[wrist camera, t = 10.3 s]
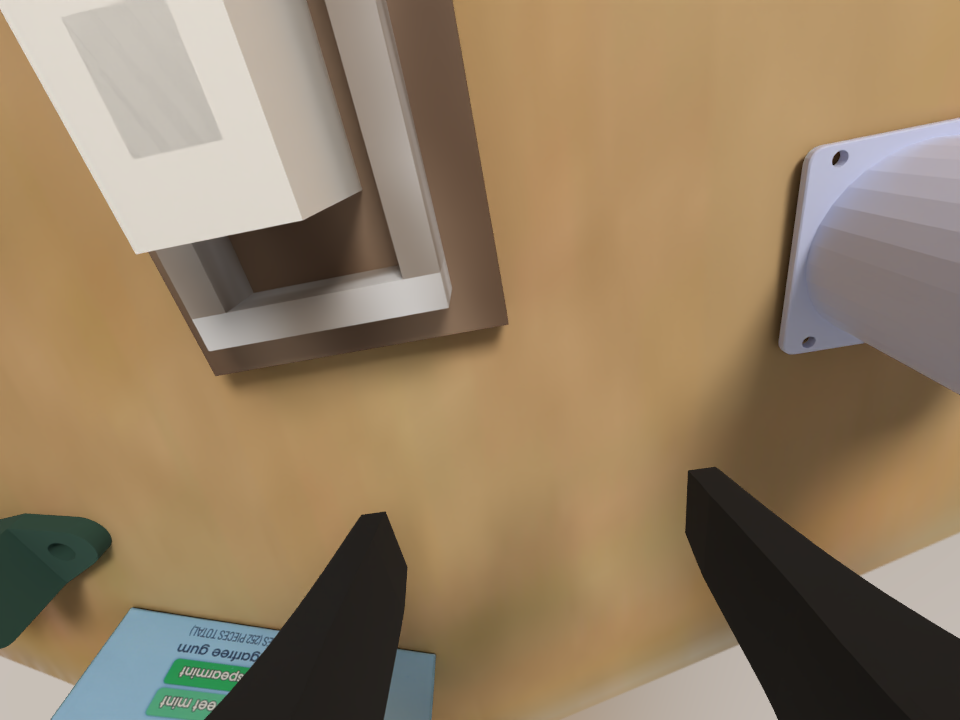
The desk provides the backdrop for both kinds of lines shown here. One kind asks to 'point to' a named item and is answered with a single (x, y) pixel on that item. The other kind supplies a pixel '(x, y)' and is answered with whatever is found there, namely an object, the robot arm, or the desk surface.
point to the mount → (41, 563)
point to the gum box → (202, 671)
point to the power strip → (193, 110)
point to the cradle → (362, 212)
